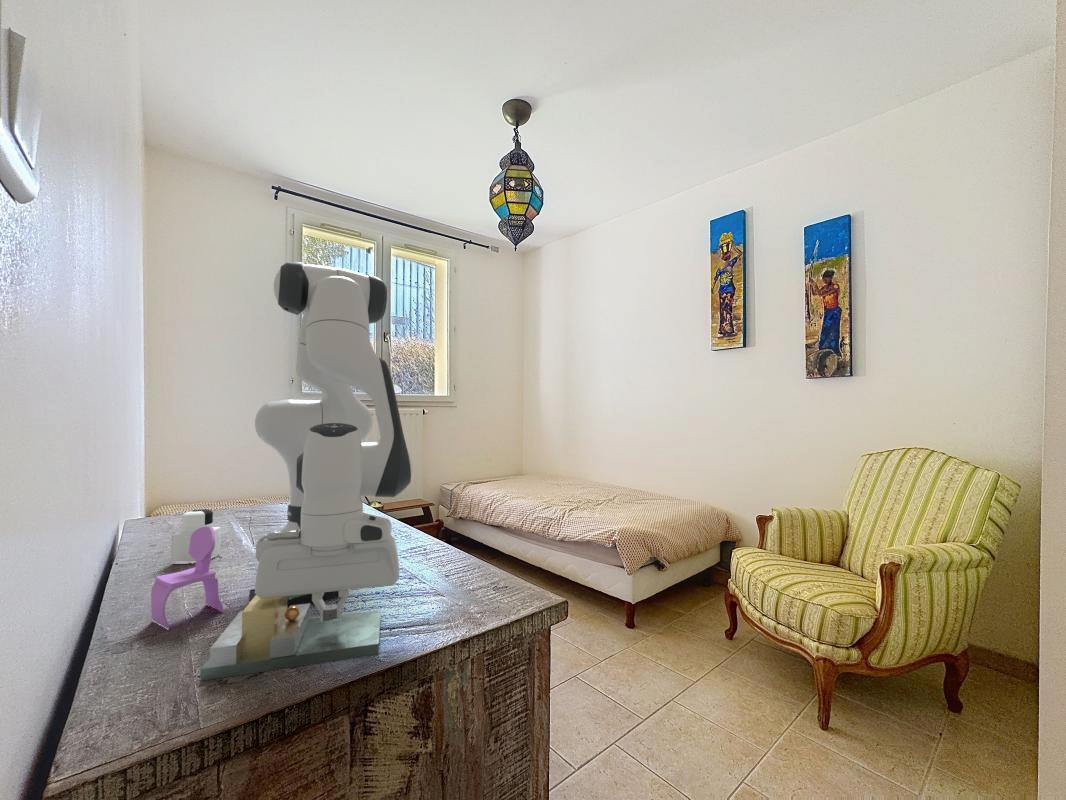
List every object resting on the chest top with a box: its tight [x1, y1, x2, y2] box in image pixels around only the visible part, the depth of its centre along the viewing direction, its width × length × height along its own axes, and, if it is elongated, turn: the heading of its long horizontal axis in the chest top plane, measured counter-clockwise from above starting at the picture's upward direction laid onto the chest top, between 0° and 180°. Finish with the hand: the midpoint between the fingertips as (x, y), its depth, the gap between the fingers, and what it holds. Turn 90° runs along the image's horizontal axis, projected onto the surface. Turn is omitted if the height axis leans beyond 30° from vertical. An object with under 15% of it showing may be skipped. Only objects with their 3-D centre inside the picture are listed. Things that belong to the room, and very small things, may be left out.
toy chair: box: [150, 526, 225, 628], centre depth 77 cm, size 8×9×15 cm
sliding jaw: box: [270, 603, 311, 658], centre depth 67 cm, size 12×3×4 cm, turn 17°
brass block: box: [241, 595, 288, 656], centre depth 66 cm, size 4×8×6 cm, turn 17°
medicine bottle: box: [170, 508, 222, 561], centre depth 109 cm, size 7×7×12 cm
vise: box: [199, 609, 382, 682], centre depth 67 cm, size 12×22×4 cm, turn 107°
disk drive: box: [248, 588, 340, 609], centre depth 85 cm, size 10×3×15 cm
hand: (330, 619), depth 69 cm, fingers closed
